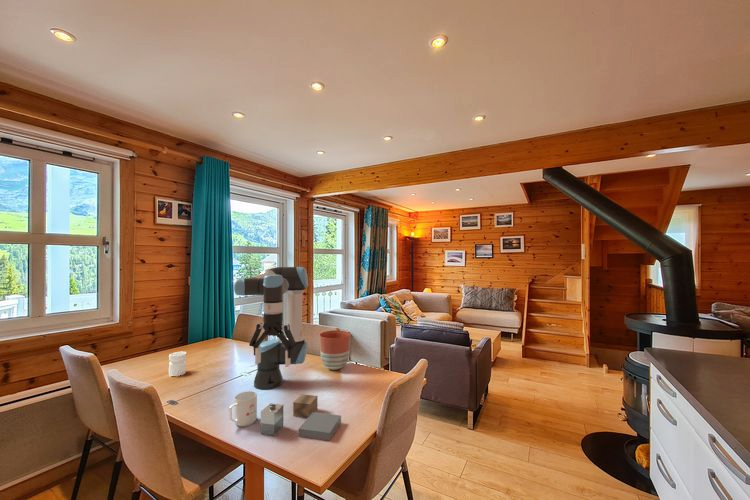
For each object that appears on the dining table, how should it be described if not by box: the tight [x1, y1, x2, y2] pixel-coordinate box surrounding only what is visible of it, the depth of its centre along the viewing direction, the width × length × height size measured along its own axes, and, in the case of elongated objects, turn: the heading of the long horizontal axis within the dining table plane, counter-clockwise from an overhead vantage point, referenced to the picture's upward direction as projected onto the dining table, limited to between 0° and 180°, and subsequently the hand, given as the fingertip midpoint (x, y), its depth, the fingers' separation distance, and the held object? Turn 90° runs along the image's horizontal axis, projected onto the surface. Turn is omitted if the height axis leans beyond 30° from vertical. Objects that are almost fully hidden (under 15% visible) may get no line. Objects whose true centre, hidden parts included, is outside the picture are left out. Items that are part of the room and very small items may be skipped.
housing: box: [260, 402, 284, 437], centre depth 124 cm, size 6×7×10 cm
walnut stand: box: [292, 393, 318, 419], centre depth 138 cm, size 8×8×6 cm
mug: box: [228, 390, 258, 428], centre depth 129 cm, size 12×9×11 cm
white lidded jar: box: [168, 351, 187, 377], centre depth 183 cm, size 9×9×12 cm
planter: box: [319, 329, 351, 371], centre depth 192 cm, size 20×20×21 cm
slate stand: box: [298, 411, 342, 441], centre depth 125 cm, size 13×13×3 cm
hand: (272, 364), depth 124 cm, fingers open, 13 cm apart
